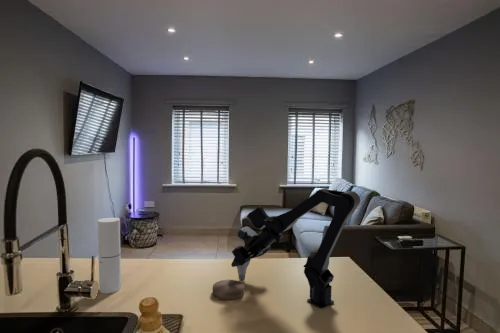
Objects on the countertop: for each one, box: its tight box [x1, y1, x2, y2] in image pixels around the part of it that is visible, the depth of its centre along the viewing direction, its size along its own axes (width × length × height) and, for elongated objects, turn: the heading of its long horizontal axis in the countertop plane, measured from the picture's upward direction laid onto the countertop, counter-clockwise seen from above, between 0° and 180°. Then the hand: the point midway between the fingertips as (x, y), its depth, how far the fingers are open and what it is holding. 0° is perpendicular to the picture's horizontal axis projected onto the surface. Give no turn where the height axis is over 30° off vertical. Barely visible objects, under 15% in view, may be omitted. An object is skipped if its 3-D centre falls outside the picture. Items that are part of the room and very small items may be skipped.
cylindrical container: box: [97, 216, 122, 294], centre depth 123 cm, size 7×7×25 cm
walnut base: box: [212, 279, 245, 301], centre depth 122 cm, size 11×11×2 cm
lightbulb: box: [233, 256, 251, 281], centre depth 133 cm, size 6×6×11 cm
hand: (239, 262), depth 134 cm, fingers open, 9 cm apart
